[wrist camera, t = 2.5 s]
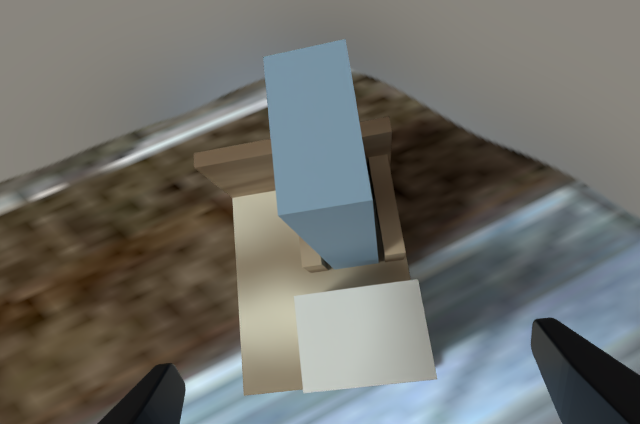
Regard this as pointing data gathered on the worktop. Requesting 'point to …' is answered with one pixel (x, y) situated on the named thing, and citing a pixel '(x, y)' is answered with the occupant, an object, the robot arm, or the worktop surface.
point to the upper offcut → (363, 337)
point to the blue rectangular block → (320, 153)
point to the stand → (293, 253)
